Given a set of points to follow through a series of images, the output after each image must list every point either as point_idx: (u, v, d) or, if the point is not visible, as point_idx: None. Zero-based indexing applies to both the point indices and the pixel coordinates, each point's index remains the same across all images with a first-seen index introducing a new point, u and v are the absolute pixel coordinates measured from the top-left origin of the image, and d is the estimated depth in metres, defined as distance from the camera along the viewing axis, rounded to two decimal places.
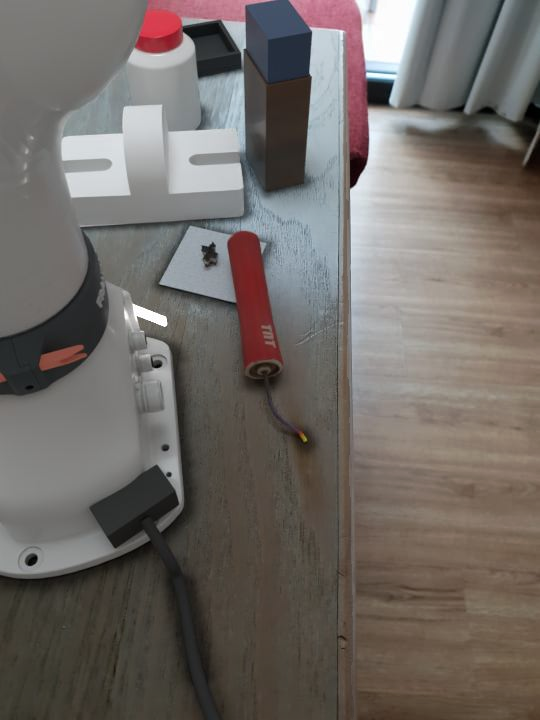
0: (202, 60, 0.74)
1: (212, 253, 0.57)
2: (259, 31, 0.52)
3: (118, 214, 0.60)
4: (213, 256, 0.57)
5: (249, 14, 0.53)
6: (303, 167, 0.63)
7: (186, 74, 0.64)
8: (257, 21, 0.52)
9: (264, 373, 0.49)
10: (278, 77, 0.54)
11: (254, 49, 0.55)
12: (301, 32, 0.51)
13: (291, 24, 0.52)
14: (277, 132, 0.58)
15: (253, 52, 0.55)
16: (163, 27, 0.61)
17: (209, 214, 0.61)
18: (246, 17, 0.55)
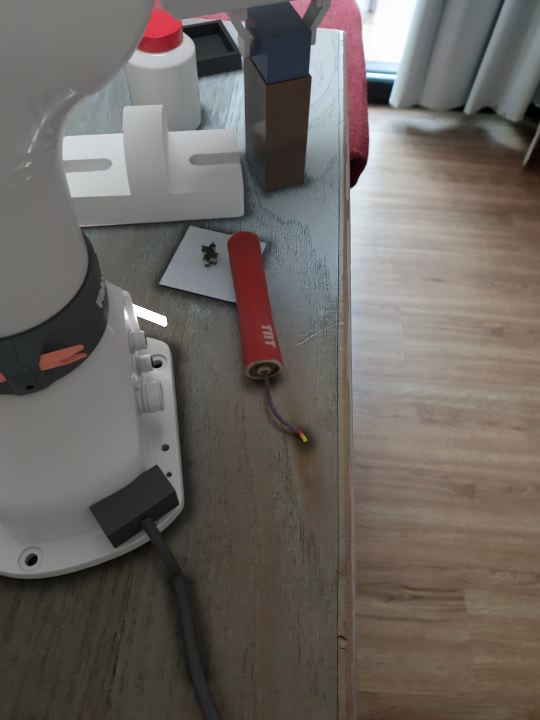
0: (202, 60, 0.74)
1: (212, 253, 0.57)
2: (258, 31, 0.52)
3: (118, 214, 0.60)
4: (213, 256, 0.57)
5: (249, 14, 0.53)
6: (303, 167, 0.63)
7: (186, 74, 0.64)
8: (257, 21, 0.52)
9: (264, 373, 0.49)
10: (278, 77, 0.54)
11: None
12: (300, 32, 0.51)
13: (291, 24, 0.52)
14: (277, 132, 0.58)
15: None
16: (162, 27, 0.61)
17: (209, 214, 0.61)
18: None
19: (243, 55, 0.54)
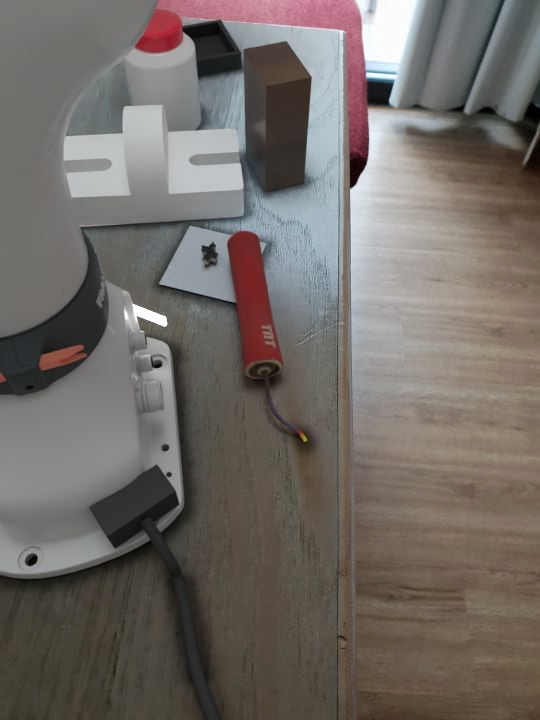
0: (202, 60, 0.74)
1: (212, 253, 0.57)
2: None
3: (118, 214, 0.60)
4: (213, 256, 0.57)
5: None
6: (303, 167, 0.63)
7: (186, 74, 0.64)
8: None
9: (264, 373, 0.49)
10: None
11: None
12: None
13: None
14: (277, 132, 0.58)
15: None
16: (162, 27, 0.61)
17: (209, 214, 0.61)
18: None
19: None
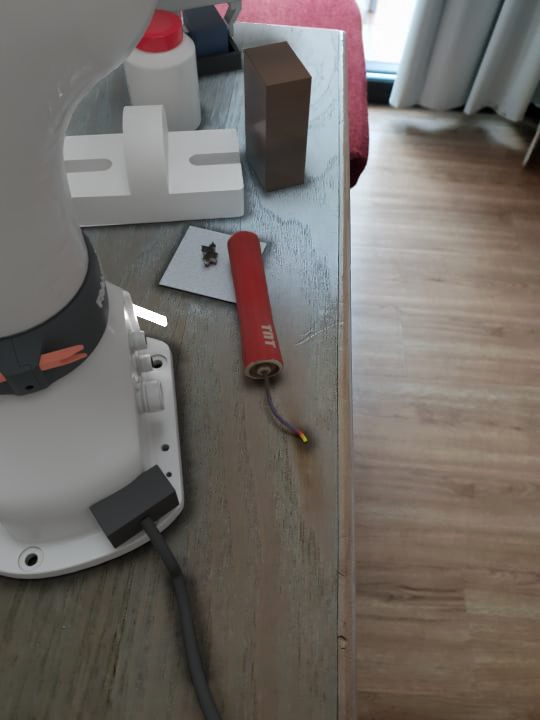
0: (202, 60, 0.74)
1: (212, 253, 0.57)
2: (190, 26, 0.74)
3: (118, 214, 0.60)
4: (213, 256, 0.57)
5: (184, 14, 0.75)
6: (303, 167, 0.63)
7: (186, 74, 0.64)
8: (189, 19, 0.74)
9: (264, 373, 0.49)
10: None
11: None
12: (219, 27, 0.73)
13: (213, 21, 0.74)
14: (277, 132, 0.58)
15: None
16: (162, 27, 0.61)
17: (209, 214, 0.61)
18: (183, 16, 0.76)
19: None
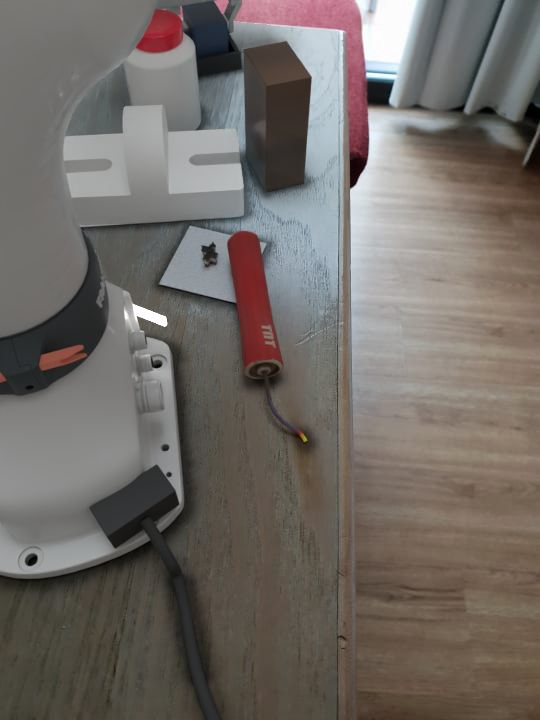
0: (202, 60, 0.74)
1: (212, 253, 0.57)
2: (190, 22, 0.73)
3: (118, 214, 0.60)
4: (213, 256, 0.57)
5: (184, 10, 0.75)
6: (303, 167, 0.63)
7: (186, 74, 0.64)
8: (189, 15, 0.73)
9: (264, 373, 0.49)
10: (205, 55, 0.75)
11: None
12: (219, 23, 0.73)
13: (213, 17, 0.73)
14: (277, 132, 0.58)
15: None
16: (162, 27, 0.61)
17: (209, 214, 0.61)
18: (183, 12, 0.76)
19: None
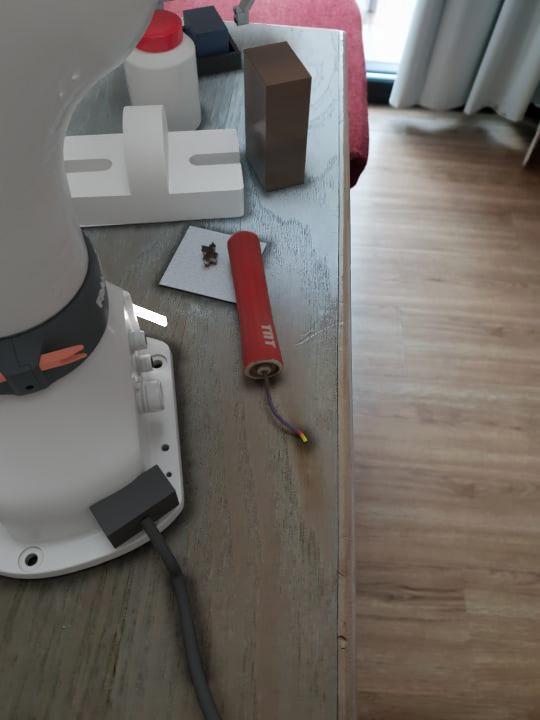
0: (202, 60, 0.74)
1: (212, 253, 0.57)
2: (191, 29, 0.74)
3: (118, 214, 0.60)
4: (213, 256, 0.57)
5: (185, 16, 0.75)
6: (303, 167, 0.63)
7: (186, 74, 0.64)
8: (190, 22, 0.74)
9: (264, 373, 0.49)
10: None
11: None
12: (220, 30, 0.73)
13: (214, 24, 0.74)
14: (277, 132, 0.58)
15: None
16: (162, 27, 0.61)
17: (209, 214, 0.61)
18: (184, 19, 0.76)
19: None
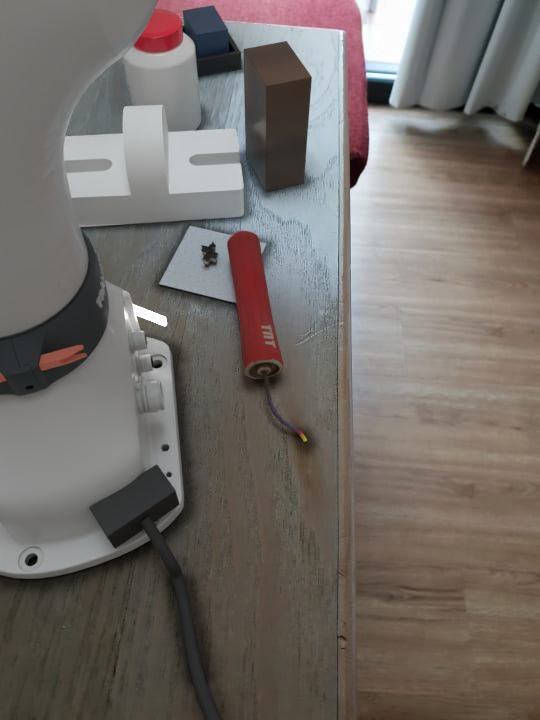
0: (202, 60, 0.74)
1: (212, 253, 0.57)
2: (191, 29, 0.74)
3: (118, 214, 0.60)
4: (213, 256, 0.57)
5: (185, 16, 0.75)
6: (303, 167, 0.63)
7: (186, 74, 0.64)
8: (190, 22, 0.74)
9: (264, 373, 0.49)
10: None
11: None
12: (220, 30, 0.73)
13: (214, 24, 0.74)
14: (277, 132, 0.58)
15: None
16: (162, 27, 0.61)
17: (209, 214, 0.61)
18: (184, 19, 0.76)
19: None
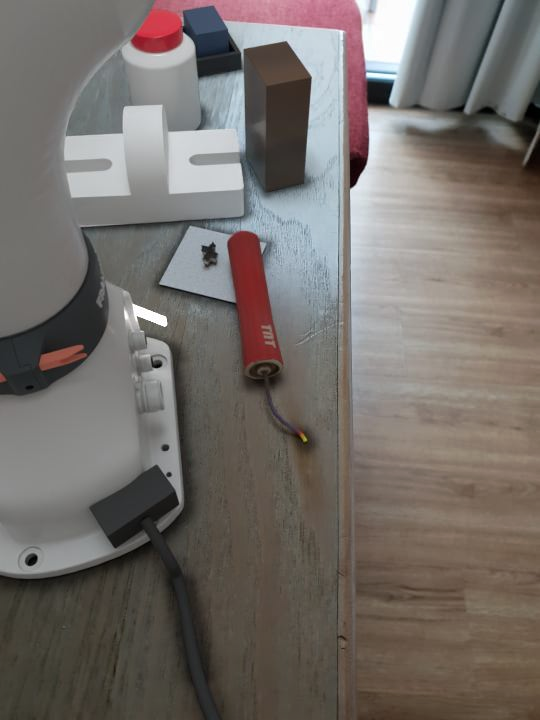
0: (202, 60, 0.74)
1: (212, 253, 0.57)
2: (191, 29, 0.74)
3: (118, 214, 0.60)
4: (213, 256, 0.57)
5: (185, 16, 0.75)
6: (303, 167, 0.63)
7: (186, 74, 0.64)
8: (190, 22, 0.74)
9: (264, 373, 0.49)
10: None
11: None
12: (220, 30, 0.73)
13: (214, 24, 0.74)
14: (277, 132, 0.58)
15: None
16: (162, 27, 0.61)
17: (209, 214, 0.61)
18: (184, 19, 0.76)
19: None
